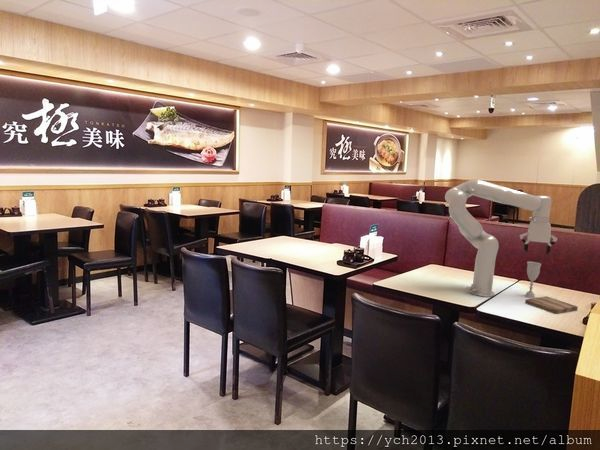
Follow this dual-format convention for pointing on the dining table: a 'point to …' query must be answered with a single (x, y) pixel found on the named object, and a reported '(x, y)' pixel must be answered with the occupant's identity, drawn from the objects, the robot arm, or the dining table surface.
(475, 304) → the dining table surface
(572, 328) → the dining table surface
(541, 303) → the serving board
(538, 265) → the chalice
